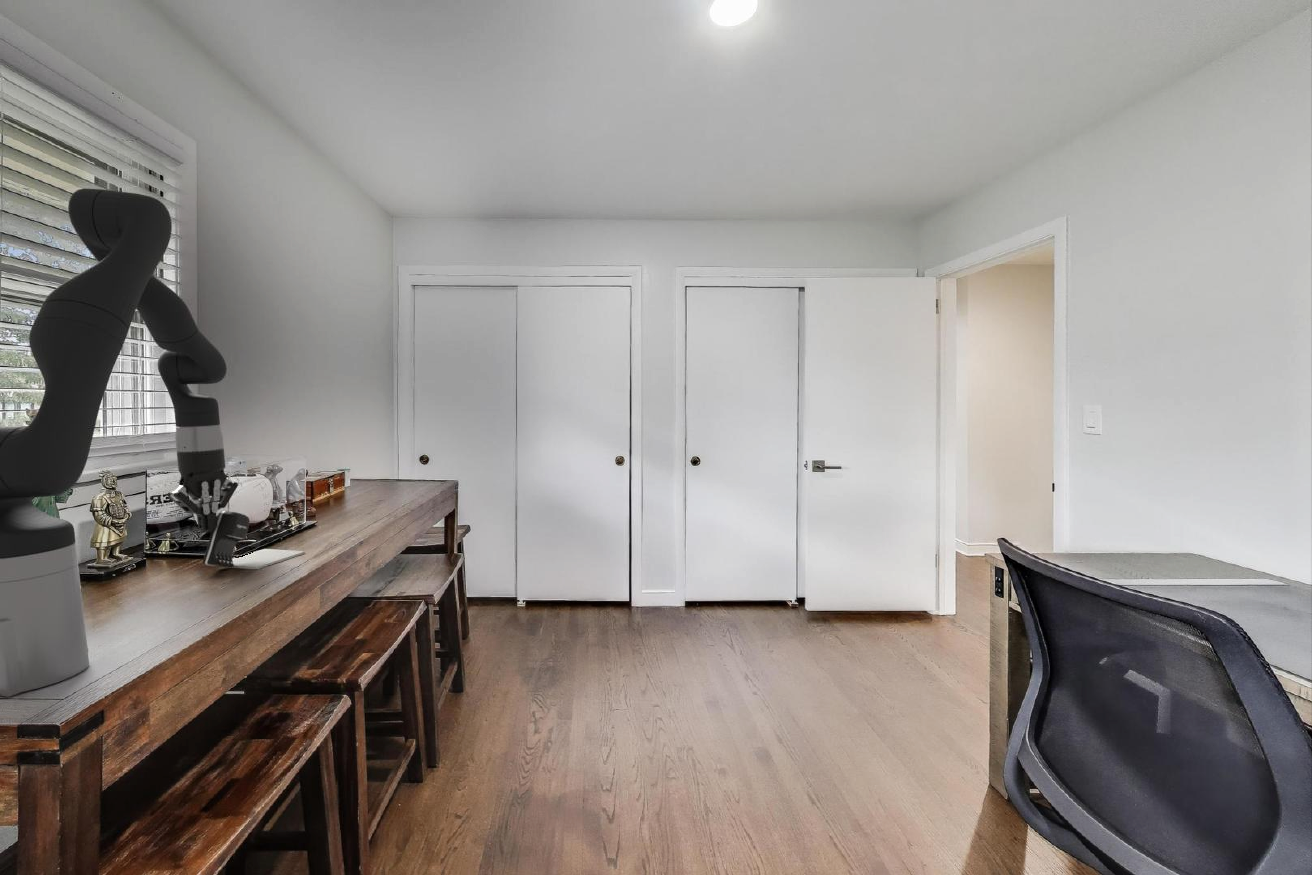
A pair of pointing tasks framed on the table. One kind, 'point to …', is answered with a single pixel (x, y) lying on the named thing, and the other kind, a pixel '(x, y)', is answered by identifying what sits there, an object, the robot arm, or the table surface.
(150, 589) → the table surface
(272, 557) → the mat
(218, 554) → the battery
